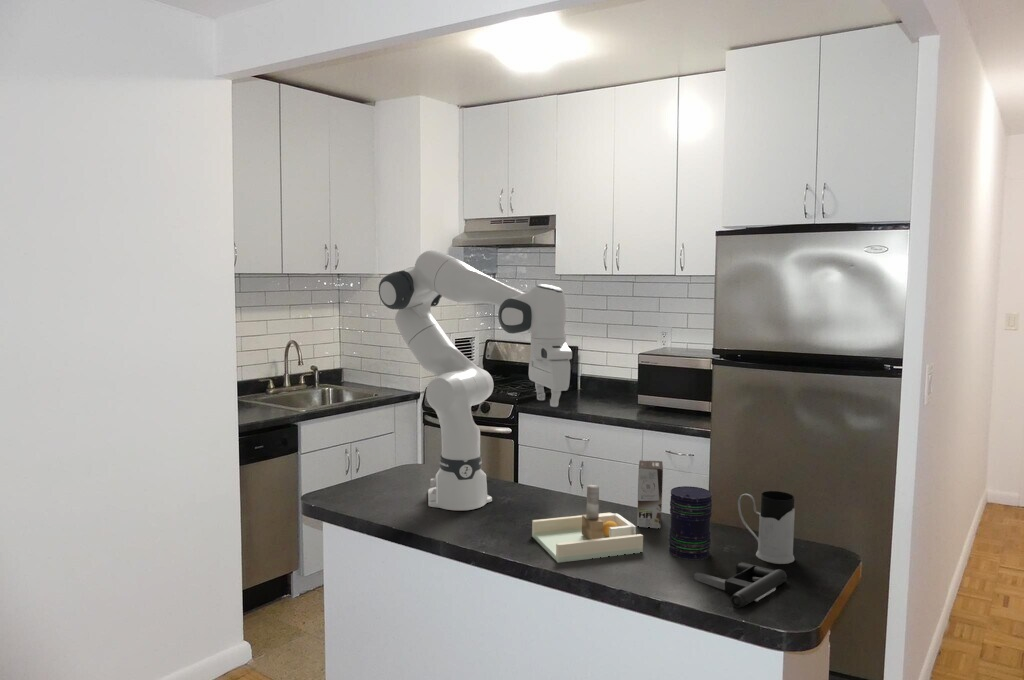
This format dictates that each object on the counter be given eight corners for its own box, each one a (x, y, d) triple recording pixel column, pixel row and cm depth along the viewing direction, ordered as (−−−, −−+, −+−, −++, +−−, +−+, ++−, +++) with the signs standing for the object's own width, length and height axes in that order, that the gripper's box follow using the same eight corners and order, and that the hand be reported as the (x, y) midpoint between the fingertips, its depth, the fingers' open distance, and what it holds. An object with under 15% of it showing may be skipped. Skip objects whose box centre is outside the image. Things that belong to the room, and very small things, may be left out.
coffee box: (661, 529, 198) (663, 469, 196) (636, 527, 199) (638, 467, 198) (661, 517, 207) (663, 460, 205) (637, 516, 208) (639, 459, 207)
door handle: (679, 578, 162) (747, 597, 150) (727, 554, 175) (793, 570, 164) (679, 593, 162) (747, 614, 150) (728, 568, 176) (794, 585, 164)
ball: (616, 520, 191) (611, 535, 191) (602, 517, 189) (597, 532, 189) (623, 526, 187) (617, 541, 187) (609, 522, 186) (604, 537, 186)
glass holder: (785, 566, 173) (788, 503, 172) (728, 550, 183) (730, 490, 182) (800, 556, 180) (803, 495, 178) (744, 541, 189) (746, 483, 188)
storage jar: (676, 541, 189) (678, 483, 187) (715, 549, 184) (717, 490, 182) (662, 554, 180) (664, 494, 179) (703, 563, 175) (705, 500, 174)
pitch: (532, 536, 192) (532, 516, 191) (610, 527, 198) (610, 508, 198) (557, 562, 175) (558, 541, 174) (642, 552, 181) (643, 531, 181)
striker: (581, 534, 189) (582, 483, 188) (592, 533, 190) (593, 482, 189) (591, 542, 184) (592, 490, 182) (602, 541, 184) (603, 489, 183)
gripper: (523, 345, 198) (522, 396, 199) (550, 353, 179) (549, 411, 180) (545, 344, 200) (544, 395, 201) (575, 353, 181) (574, 409, 182)
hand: (547, 403), depth 191 cm, fingers open, 8 cm apart
